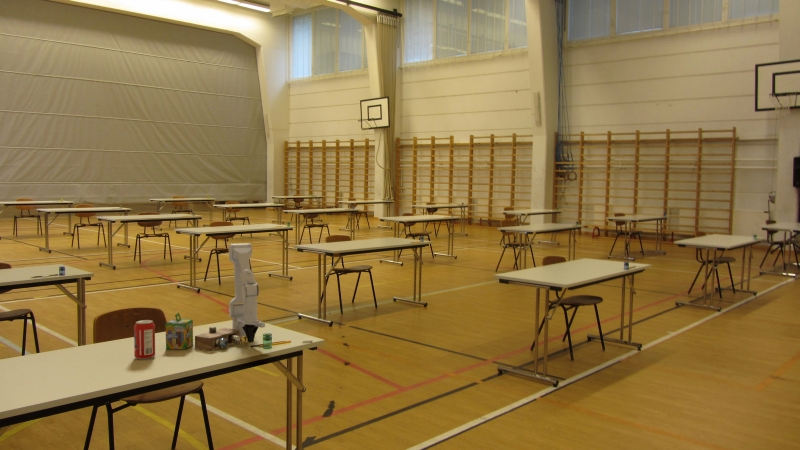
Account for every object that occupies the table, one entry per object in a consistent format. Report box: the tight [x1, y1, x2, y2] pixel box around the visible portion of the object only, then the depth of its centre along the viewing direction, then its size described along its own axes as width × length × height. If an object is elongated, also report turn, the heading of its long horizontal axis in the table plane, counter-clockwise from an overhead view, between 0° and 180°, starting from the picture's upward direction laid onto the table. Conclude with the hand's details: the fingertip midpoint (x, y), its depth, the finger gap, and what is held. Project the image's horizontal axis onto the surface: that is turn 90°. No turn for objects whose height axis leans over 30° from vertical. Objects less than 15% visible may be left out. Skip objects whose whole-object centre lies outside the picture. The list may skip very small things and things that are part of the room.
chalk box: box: [164, 312, 194, 350], centre depth 266 cm, size 9×9×15 cm
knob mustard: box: [228, 335, 250, 346], centre depth 270 cm, size 4×11×4 cm, turn 62°
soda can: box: [133, 319, 156, 361], centre depth 248 cm, size 8×8×15 cm
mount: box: [194, 327, 240, 351], centre depth 270 cm, size 18×9×5 cm, turn 152°
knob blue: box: [215, 338, 228, 348], centre depth 266 cm, size 4×11×4 cm, turn 62°
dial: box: [208, 326, 217, 333], centre depth 271 cm, size 3×3×2 cm
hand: (250, 341), depth 267 cm, fingers closed
